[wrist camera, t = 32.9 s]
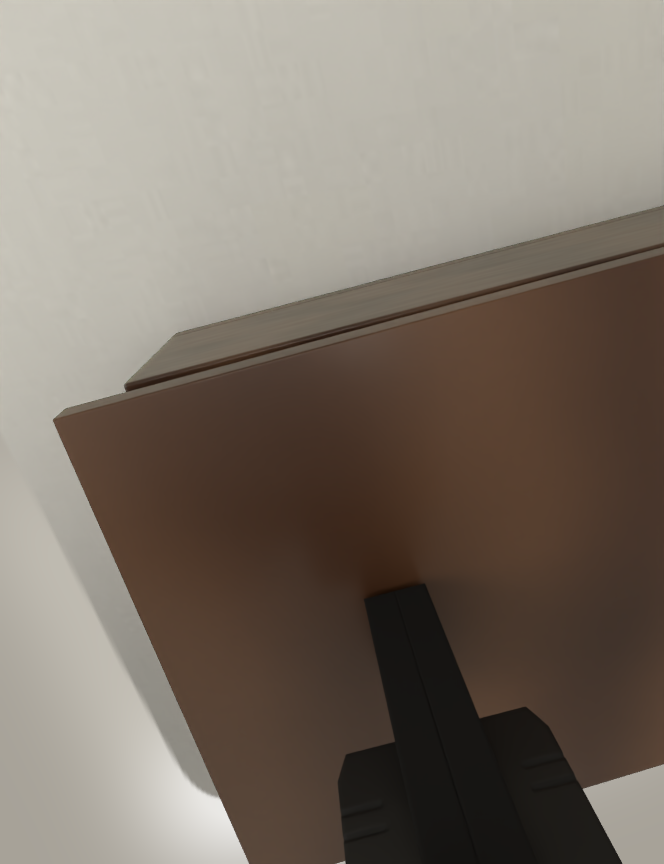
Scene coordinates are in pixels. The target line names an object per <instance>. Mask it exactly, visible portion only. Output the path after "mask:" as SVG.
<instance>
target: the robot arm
mask: <svg viewBox="0 0 664 864" xmlns="http://www.w3.org/2000/svg"><path fill="white" fill-rule="evenodd" d="M364 603H365V607H366V612H367V616H368V621H369V625H370V630H371V634H372V639H373V644H374V648H375V653H376V657H377V662H378V666H379V671H380V675H381V680H382V684H383V689H384V694H385V698H386V703H387V707H388V712H389V716H390V721H391V725H392V730H393V734H394V739H395V742H392V743H388V744H384V745H381V746H377V747H373V748H369V749H365V750H361V751H357V752H353V753H349V754H346V755H345V758H344V762H343V765H342V769H341V772H340V775H339V779H338V792H339V802H340V812H341V822H342V832H343V838H344V852H345V862H346V864H622V862H621V860H620V858H619V856H618V854H617V853H616V851H615V849H614V847H613V845H612V843H611V841H610V840H609V838H608V836H607V834H606V832H605V830H604V828H603V827H602V825H601V823H600V821H599V819H598V817H597V815H596V814H595V812H594V810H593V808H592V806H591V804H590V802H589V800H588V798H587V797H586V795H585V793H584V791H583V789H582V787H581V785H580V784H579V782H578V780H576V777H575V774H574V772H573V770H572V769H571V767H570V765H569V763H568V761H567V759H566V758H565V757H564V755H563V752H562V750H561V748H560V746H559V744H558V742H557V741H556V739H555V737H554V735H553V733H552V731H551V729H550V728H549V726H548V725H547V724H546V723H545V722H543V721H542V720H541V719H540V718H539V717H538V716H537V715H535V714H534V713H533V712H532V711H531V710H530V709H528V708H527V707H526V706H525V707H521V708H518V709H514V710H510V711H506V712H502V713H498V714H494V715H490V716H487V717H483V718H479V716H478V713H477V711H476V708H475V706H474V703H473V701H472V698H471V696H470V694H469V691H468V689H467V686H466V684H465V681H464V679H463V676H462V674H461V671H460V669H459V666H458V664H457V661H456V659H455V656H454V654H453V651H452V649H451V646H450V644H449V641H448V639H447V636H446V634H445V631H444V629H443V627H442V624H441V622H440V619H439V617H438V614H437V612H436V609H435V607H434V604H433V602H432V599H431V597H430V594H429V592H428V589H427V587H426V584H425V583H424V584H420V585H416V586H412V587H408V588H405V589H401V590H397V591H393V592H389V593H385V594H381V595H377V596H374V597H370V598H366V599H364Z"/></svg>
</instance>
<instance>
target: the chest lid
mask: <svg viewBox="0 0 664 864" xmlns="http://www.w3.org/2000/svg"><path fill="white" fill-rule="evenodd" d="M53 422H54V424H55V427H56V429H57V431H58V433H59V436H60V438H61V440H62V442H63V445H64V447H65V449H66V451H67V454H68V456H69V458H70V460H71V463H72V465H73V467H74V469H75V472H76V474H77V476H78V478H79V481H80V483H81V485H82V487H83V490H84V492H85V494H86V497H87V499H88V501H89V503H90V506H91V508H92V510H93V512H94V515H95V517H96V519H97V521H98V524H99V526H100V528H101V530H102V533H103V535H104V537H105V539H106V542H107V544H108V546H109V548H110V551H111V553H112V555H113V557H114V560H115V562H116V564H117V566H118V569H119V571H120V573H121V575H122V578H123V580H124V582H125V584H126V587H127V589H128V591H129V594H130V596H131V598H132V600H133V603H134V605H135V607H136V609H137V612H138V614H139V616H140V618H141V621H142V623H143V625H144V627H145V630H146V632H147V634H148V636H149V639H150V641H151V643H152V645H153V648H154V650H155V652H156V654H157V657H158V659H159V661H160V663H161V666H162V668H163V670H164V672H165V675H166V677H167V679H168V681H169V684H170V686H171V688H172V691H173V693H174V695H175V697H176V700H177V702H178V704H179V706H180V709H181V711H182V713H183V715H184V718H185V720H186V722H187V724H188V727H189V729H190V731H191V733H192V736H193V738H194V740H195V742H196V745H197V747H198V749H199V751H200V754H201V756H202V758H203V760H204V763H205V765H206V767H207V769H208V772H209V774H210V776H211V778H212V781H213V783H214V785H215V788H216V790H217V792H218V794H219V797H220V799H221V801H222V803H223V806H224V808H225V810H226V812H227V814H228V817H229V819H230V821H231V824H232V826H233V828H234V830H235V832H236V835H237V837H238V839H239V842H240V844H241V846H242V848H243V850H244V853H245V855H246V857H247V859H248V862H249V864H336V863H339V862H343V861H345V852H344V838H343V832H342V822H341V812H340V802H339V792H338V779H339V775H340V772H341V769H342V765H343V762H344V758H345V755H346V754H349V753H353V752H357V751H361V750H365V749H369V748H373V747H377V746H381V745H384V744H388V743H392V742H395V739H394V734H393V730H392V725H391V721H390V716H389V712H388V707H387V703H386V698H385V694H384V689H383V684H382V680H381V675H380V671H379V666H378V662H377V657H376V653H375V648H374V644H373V639H372V634H371V630H370V625H369V621H368V616H367V612H366V607H365V603H364V599H366V598H370V597H374V596H377V595H381V594H385V593H389V592H393V591H397V590H401V589H405V588H408V587H412V586H416V585H420V584H424V583H425V584H426V587H427V589H428V592H429V594H430V597H431V599H432V602H433V604H434V607H435V609H436V612H437V614H438V617H439V619H440V622H441V624H442V627H443V629H444V631H445V634H446V636H447V639H448V641H449V644H450V646H451V649H452V651H453V654H454V656H455V659H456V661H457V664H458V666H459V669H460V671H461V674H462V676H463V679H464V681H465V684H466V686H467V689H468V691H469V694H470V696H471V698H472V701H473V703H474V706H475V708H476V711H477V713H478V716H479V718H483V717H487V716H490V715H494V714H498V713H502V712H506V711H510V710H514V709H518V708H521V707H525V706H526V707H527V708H528V709H530V710H531V711H532V712H533V713H534V714H535V715H537V716H538V717H539V718H540V719H541V720H542V721H543V722H545V723H546V724H547V725H548V726H549V728H550V729H551V731H552V733H553V735H554V737H555V739H556V741H557V742H558V744H559V746H560V748H561V750H562V752H563V755H564V757H565V758H566V759H567V761H568V763H569V765H570V767H571V769H572V770H573V772H574V774H575V777H576V780H578V782H579V784H580V785H581V787H582V789H583V788H587V787H590V786H593V785H597V784H600V783H603V782H607V781H610V780H613V779H616V778H620V777H623V776H626V775H630V774H633V773H636V772H640V771H643V770H646V769H649V768H653V767H656V766H659V765H662V764H664V247H662V248H658V249H654V250H650V251H647V252H643V253H639V254H636V255H632V256H628V257H625V258H621V259H617V260H613V261H610V262H606V263H602V264H599V265H595V266H591V267H588V268H584V269H580V270H576V271H573V272H569V273H565V274H562V275H558V276H554V277H551V278H547V279H543V280H539V281H536V282H532V283H528V284H525V285H521V286H517V287H514V288H510V289H506V290H502V291H499V292H495V293H491V294H488V295H484V296H480V297H477V298H473V299H469V300H465V301H462V302H458V303H454V304H451V305H447V306H443V307H440V308H436V309H432V310H428V311H425V312H421V313H417V314H414V315H410V316H406V317H403V318H399V319H395V320H391V321H388V322H384V323H380V324H377V325H373V326H369V327H366V328H362V329H358V330H354V331H351V332H347V333H343V334H340V335H336V336H332V337H329V338H325V339H321V340H317V341H314V342H310V343H306V344H303V345H299V346H295V347H292V348H288V349H284V350H280V351H277V352H273V353H269V354H266V355H262V356H258V357H255V358H251V359H247V360H243V361H240V362H236V363H232V364H229V365H225V366H221V367H218V368H214V369H210V370H207V371H203V372H199V373H195V374H192V375H188V376H184V377H181V378H177V379H173V380H170V381H166V382H162V383H158V384H155V385H151V386H147V387H144V388H140V389H136V390H133V391H129V392H125V393H121V394H118V395H114V396H110V397H107V398H103V399H99V400H96V401H92V402H88V403H84V404H81V405H77V406H73V407H70V408H66V409H65V410H63V411H62V412H61V413H60V414H59V415H58V416H57V417H56V418H55V419H53Z"/></svg>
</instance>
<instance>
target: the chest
mask: <svg viewBox="0 0 664 864" xmlns="http://www.w3.org/2000/svg"><path fill="white" fill-rule="evenodd" d="M662 247H664V206H660V207H656V208H653V209H649V210H645V211H641V212H637V213H633V214H630V215H626V216H622V217H618V218H614V219H611V220H607V221H603V222H599V223H595V224H592V225H588V226H584V227H580V228H576V229H572V230H569V231H565V232H561V233H557V234H553V235H550V236H546V237H542V238H538V239H534V240H530V241H527V242H523V243H519V244H515V245H511V246H508V247H504V248H500V249H496V250H492V251H489V252H485V253H481V254H477V255H473V256H469V257H466V258H462V259H458V260H454V261H450V262H447V263H443V264H439V265H435V266H431V267H427V268H424V269H420V270H416V271H412V272H408V273H405V274H401V275H397V276H393V277H389V278H385V279H382V280H378V281H374V282H370V283H366V284H363V285H359V286H355V287H351V288H347V289H344V290H340V291H336V292H332V293H328V294H324V295H321V296H317V297H313V298H309V299H305V300H302V301H298V302H294V303H290V304H286V305H282V306H279V307H275V308H271V309H267V310H263V311H260V312H256V313H252V314H248V315H244V316H241V317H237V318H233V319H229V320H225V321H221V322H218V323H214V324H210V325H206V326H202V327H199V328H195V329H191V330H187V331H183V332H179V333H176V334H175V335H174V336H173V337H172V338H171V339H170V340H169V341H168V342H167V343H166V344H165V345H164V346H163V347H162V348H161V349H160V350H159V351H158V352H157V353H156V354H155V355H154V356H153V357H152V358H151V359H150V360H149V361H148V362H147V363H146V364H145V365H144V366H143V367H142V368H141V369H140V370H138V371H137V372H136V373H135V374H134V375H133V376H132V377H131V378H130V379H129V380H128V381H127V382H126V383H125V384H124V388H125V390H126V392H129V391H133V390H136V389H140V388H144V387H147V386H151V385H155V384H158V383H162V382H166V381H170V380H173V379H177V378H181V377H184V376H188V375H192V374H195V373H199V372H203V371H207V370H210V369H214V368H218V367H221V366H225V365H229V364H232V363H236V362H240V361H243V360H247V359H251V358H255V357H258V356H262V355H266V354H269V353H273V352H277V351H280V350H284V349H288V348H292V347H295V346H299V345H303V344H306V343H310V342H314V341H317V340H321V339H325V338H329V337H332V336H336V335H340V334H343V333H347V332H351V331H354V330H358V329H362V328H366V327H369V326H373V325H377V324H380V323H384V322H388V321H391V320H395V319H399V318H403V317H406V316H410V315H414V314H417V313H421V312H425V311H428V310H432V309H436V308H440V307H443V306H447V305H451V304H454V303H458V302H462V301H465V300H469V299H473V298H477V297H480V296H484V295H488V294H491V293H495V292H499V291H502V290H506V289H510V288H514V287H517V286H521V285H525V284H528V283H532V282H536V281H539V280H543V279H547V278H551V277H554V276H558V275H562V274H565V273H569V272H573V271H576V270H580V269H584V268H588V267H591V266H595V265H599V264H602V263H606V262H610V261H613V260H617V259H621V258H625V257H628V256H632V255H636V254H639V253H643V252H647V251H650V250H654V249H658V248H662Z"/></svg>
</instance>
